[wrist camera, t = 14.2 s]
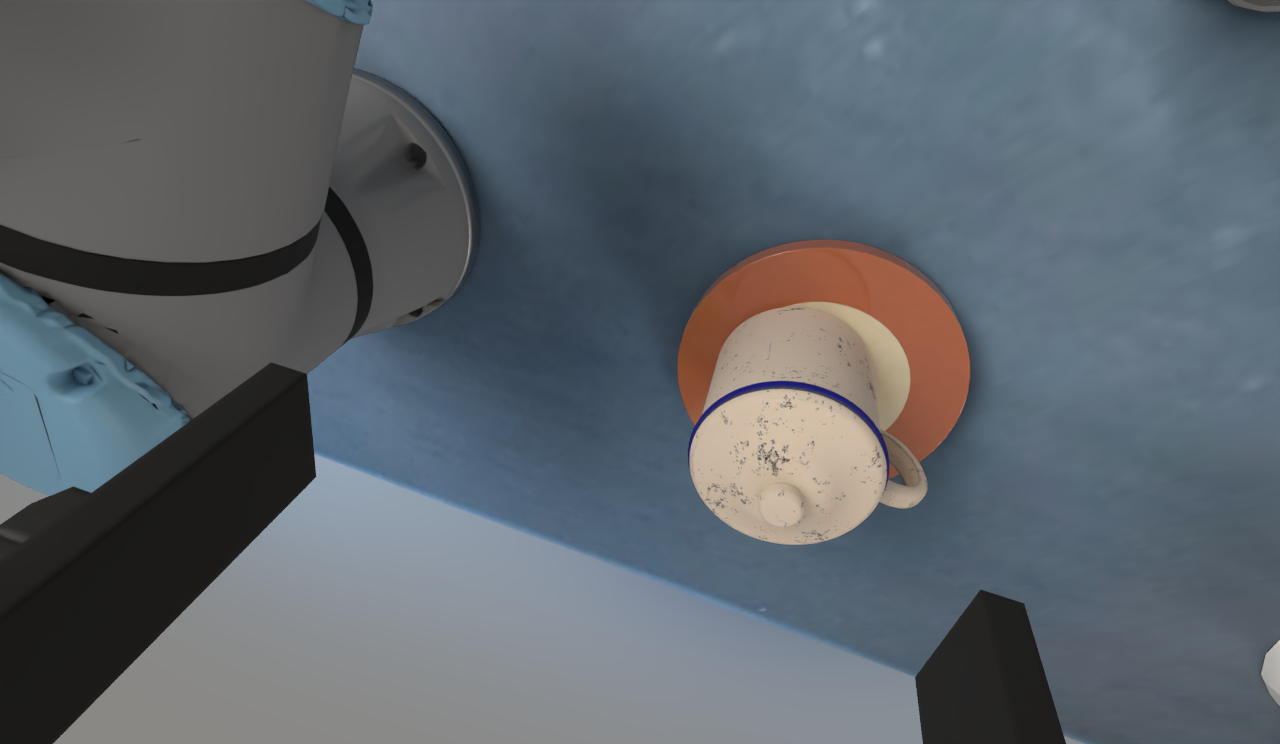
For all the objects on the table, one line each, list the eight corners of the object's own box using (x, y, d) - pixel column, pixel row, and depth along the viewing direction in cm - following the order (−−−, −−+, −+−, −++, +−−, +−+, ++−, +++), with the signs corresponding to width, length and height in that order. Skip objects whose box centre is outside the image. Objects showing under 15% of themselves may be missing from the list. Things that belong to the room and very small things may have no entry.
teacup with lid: (689, 398, 41) (645, 534, 31) (755, 272, 36) (728, 388, 26) (869, 481, 41) (881, 643, 31) (962, 367, 36) (1010, 518, 26)
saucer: (658, 427, 45) (651, 446, 44) (721, 199, 36) (716, 211, 35) (895, 501, 44) (897, 524, 42) (1020, 282, 35) (1030, 299, 33)
